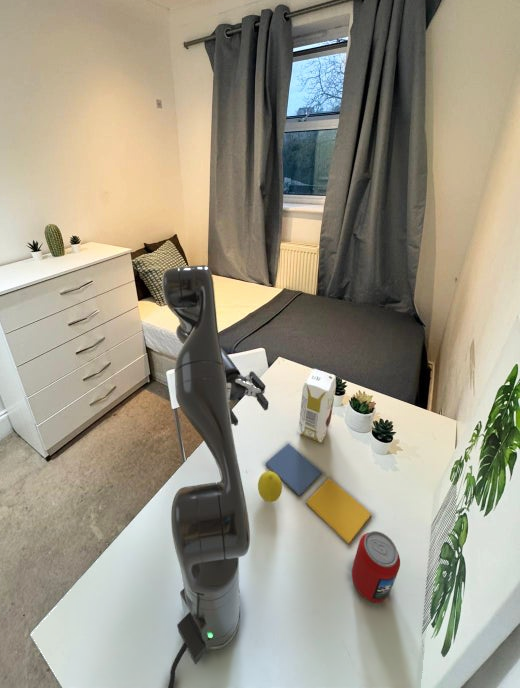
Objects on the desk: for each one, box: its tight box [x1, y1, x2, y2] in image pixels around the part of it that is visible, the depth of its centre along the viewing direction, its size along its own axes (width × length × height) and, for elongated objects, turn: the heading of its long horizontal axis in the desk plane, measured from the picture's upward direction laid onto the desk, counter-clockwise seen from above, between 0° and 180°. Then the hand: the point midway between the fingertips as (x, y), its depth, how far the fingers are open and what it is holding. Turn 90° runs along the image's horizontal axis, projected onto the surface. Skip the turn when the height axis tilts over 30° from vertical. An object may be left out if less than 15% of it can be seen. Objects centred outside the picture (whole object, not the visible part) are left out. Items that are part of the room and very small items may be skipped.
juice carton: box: [298, 368, 337, 443], centre depth 91 cm, size 8×9×19 cm
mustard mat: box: [305, 477, 372, 545], centre depth 75 cm, size 9×11×1 cm
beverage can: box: [351, 530, 401, 604], centre depth 60 cm, size 7×7×12 cm
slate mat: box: [265, 443, 323, 497], centre depth 84 cm, size 9×11×1 cm
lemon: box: [257, 470, 283, 503], centre depth 76 cm, size 6×6×8 cm
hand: (252, 415), depth 78 cm, fingers open, 8 cm apart
